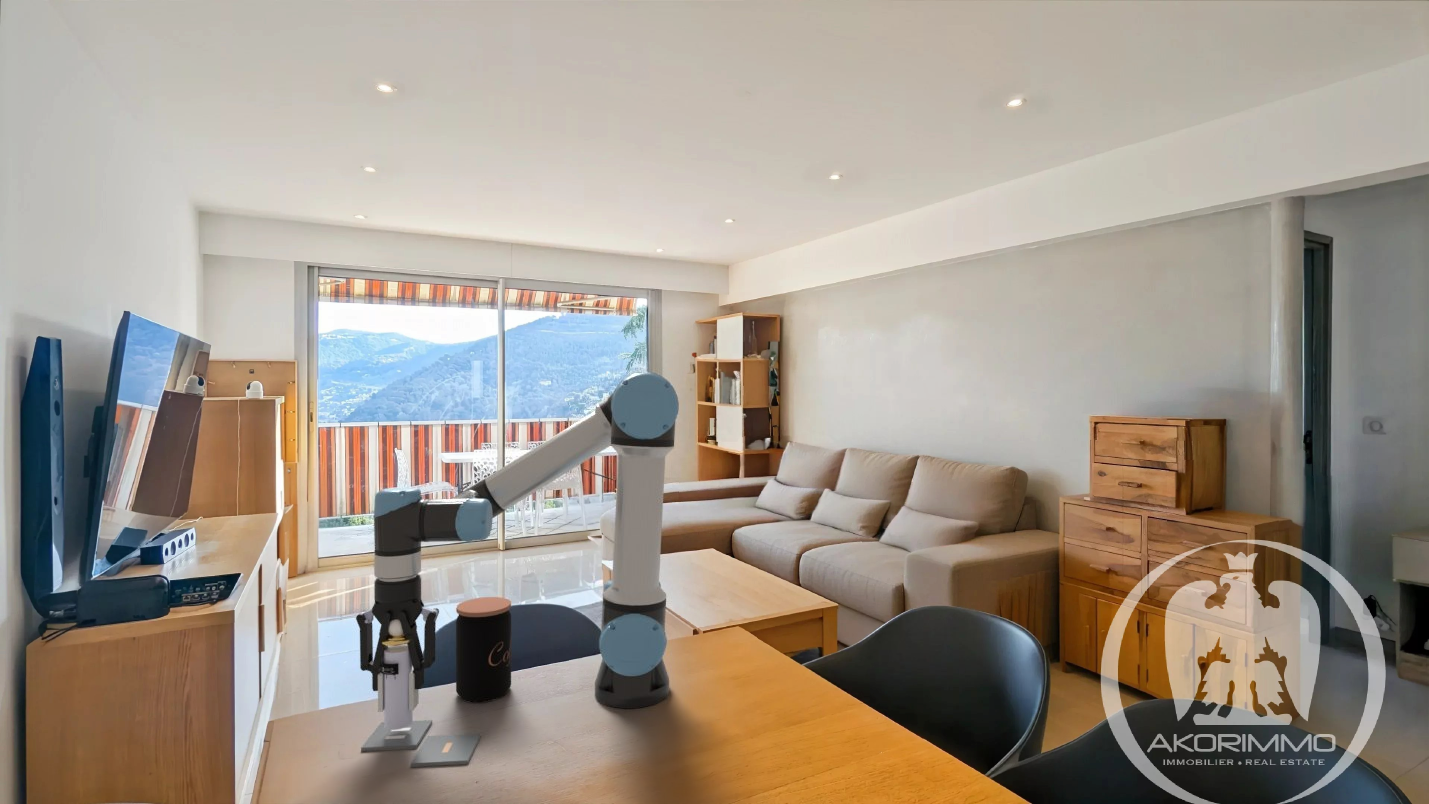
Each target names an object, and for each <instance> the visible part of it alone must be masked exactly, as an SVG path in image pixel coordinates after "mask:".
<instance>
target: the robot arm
mask: <svg viewBox="0 0 1429 804" xmlns="http://www.w3.org/2000/svg"><path fill="white" fill-rule="evenodd" d="M679 405H680V403H679V397H678V395H677V391H676V390H675V388H674V386H673V385H672V384H671V383H670V381H669V380H668V379H666V378H665V377H664V376H662V375H660V374H657V373H656V372H649V371H643V372H642V371H640V372H639V371H637V372H634V373H632V374H629V375H627V376H626V377H625V378H623V379H621V381H620V382H619V383H618V384H617V386H616V387H615V389H614V391H613V392H612V393H611V394H610V395H609V396H607V397H606V398H604V399H603V400H601V401H599V402H598V403H596V406H595V409H594V411H593V412H591V413H590V414H588V415H586V416H584V417H583V418H581V419H580V420H578V421H576V422H574V424H572V425H570V426H568V427H566V428H565V429H563V430H561V431H560V432H558V433H556V435H554V436H552V437H551V438H549V439H548V440H546V441H543V442H542V443H541V444H539V445H537V446H536V447H534V448H532V449H531V450H529V451H527V452H526V453H524V454H522V455H521V456H519V457H517V458H515V459H514V460H513V461H511V462H510V463H508V464H506V465H504V466H503V467H501V468H500V469H498V470H496V471H495V472H494V473H491V474H490V475H488V476H486V478H484V479H482V480H480V481H478V482H476V483H475V484H474V485H472V486H469V487H468V488H466V489H464V490H463V491H461V492H459V494H457V495H456V496H454V497H452V498H439V499H438V498H435V499H431V498H430V499H429V498H428V499H427V498H423V496H422V492H421V489H420V488H418V487H414V486H413V487H410V486H400V487H399V486H398V487H390V488H384V489H381V490H379V491H378V492H377V493H376V494H375V498H374V512H373V517H372V518H373V533H374V534H373V535H374V537H373V538H374V554H373V555H374V556H373V557H374V560H373V561H374V569H373V571H374V572H373V573H374V574H373V575H374V577H375V578H376V579H375V580H374V595H373V597H374V604H373V605H372V607H371V609H369V610H363V611H361V612H359V614H357V615H356V617H355V620H356V622H357V624H358V627H359V662H360V665H359V666H360V667H359V668H360V670H361V671H363V672H364V671H367V672H370V673H371V674H372V675H371V678H372V679H371V681H372V684H371V686H372V687H371V689H372V691H373V692H377V712H381V713H382V712H383V713H384V674H382V673H380V669H381V668H382V667H381V668H380V661H381V662H382V663H383V662H384V650H385V649H386V648H387V647H389V646H384V645H382V644H380V640H386V639H387V637H388V636H389V635H390V634H389V633H388V628H389V624H390V622H391V621H392V620H399V621H400V622H401V626H402V630H403V634H404V636H405V637H406V639H411V642H410V643H407V645H408V649H409V653H410V657H411V661H412V671H411V672H410V673H409V710H413V711H414V710H415V709H416V707H417V706H418V705H419V698H420V697H419V695H420V693H419V690H421V689H422V688H423V687H424V684H425V669H430V668H431V666H433V664H434V663H435V662H436V631H437V630H436V627H437V626H436V622H437V619H438V617H439V614H440V610H439V608H437V607H436V608H429V607H426V606H425V604H424V602H423V600H422V576H421V575H420V573H421V572H422V543H429V542H434V543H435V542H443V543H444V542H466V543H470V542H474V541H484V540H486V539H488V538H489V536H490V535H491V531H492V528H493V519H495V518H496V517H497V516H499V515H500V514H502V513H504V512H505V511H507V510H508V509H510V508H512V507H514V506H515V505H517V504H518V503H519V502H521V501H523V500H524V499H526V498H528V497H529V496H531V495H532V494H535V493H536V492H537V491H540V490H541V489H542V488H544V487H546V486H548V485H549V484H551V483H552V482H553V481H556V480H557V479H559V478H560V477H562V476H563V475H565V474H567V473H569V472H570V471H572V470H573V469H575V468H577V467H578V466H579V465H582V464H583V463H585V462H586V461H588V460H590V459H591V458H593V457H595V456H597V455H598V454H600V453H601V452H602V451H604V450H607V448H609V447H610V446H611V447H612V448H613V450H615V452H616V453H617V455H618V456H617V458H618V459H617V476H616V477H617V478H616V496H615V497H616V498H615V499H616V500H615V501H616V502H615V517H614V536H613V553H612V557H613V558H612V574H611V575H612V579H611V580H608V581H606V582H605V583H604V586H603V593H602V604H601V605H602V608H601V609H602V610H601V624H600V625H601V629H600V636H599V638H598V648H599V651H600V656H601V658H602V660H601V662H600V666H599V669H598V672H597V675H596V679H595V683H594V697H595V699H596V700H597V701H598V702H600V703H601V704H602V705H603V704H604V706H608V707H612V708H619V709H638V708H644V707H645V708H646V707H649V706H652V705H655V704H657V703H660V702H662V701H663V700H665V699H666V698H667V697H668V696H669V693H670V677H669V675H668V671H667V668H666V665H665V661H664V655H665V653H666V649H667V644H668V643H667V642H668V639H667V635H666V615H667V614H666V613H667V611H666V608H667V593H666V591H664V589H663V588H662V585H661V582H660V568H661V565H660V564H661V547H662V546H661V545H662V530H663V529H662V526H663V510H664V506H663V505H664V488H665V474H666V473H665V472H666V471H665V470H666V456H667V455H668V454H670V452H671V451H672V450H673V449H674V448H675V439H676V438H675V435H676V419H677V417H678V415H679V410H680V409H679V407H680V406H679ZM420 615H422V620H423V621H424V622H425V623H424V630H423V631H424V632H423V633H424V636H423V639H424V642H423V645H424V648H423V649H424V651H423V650H422V647H421V643H420V638H419V635H418V631H417V630H418V626H417V620H418V618H419V617H420ZM374 618H375V619H376V620H377V621H378V623H379V624H380V627H379V628H380V629H379V633H378V635H379V636H378V640H377V645H376V649H375V653H374V649H373V648H374V646H373V644H374V643H373V642H374V641H373V637H374V636H373V621H374ZM381 657H382V658H381ZM380 658H381V659H380ZM382 660H383V661H382ZM383 671H384V668H383ZM380 675H381V676H380Z"/></svg>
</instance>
